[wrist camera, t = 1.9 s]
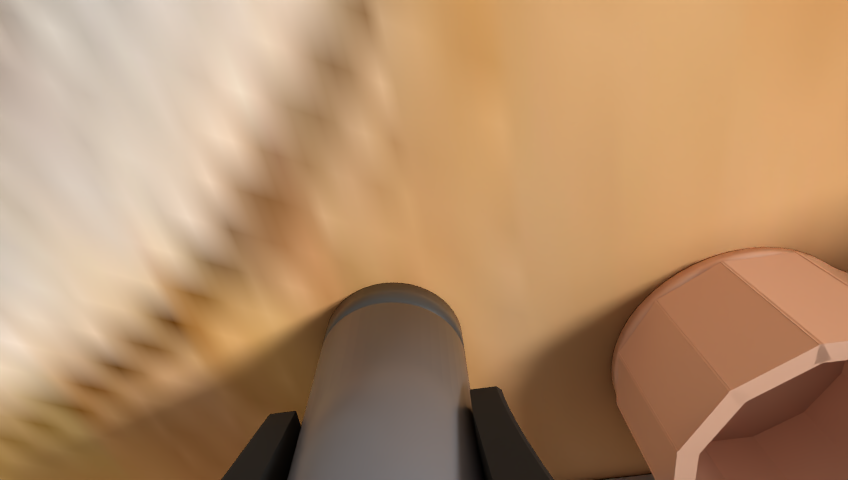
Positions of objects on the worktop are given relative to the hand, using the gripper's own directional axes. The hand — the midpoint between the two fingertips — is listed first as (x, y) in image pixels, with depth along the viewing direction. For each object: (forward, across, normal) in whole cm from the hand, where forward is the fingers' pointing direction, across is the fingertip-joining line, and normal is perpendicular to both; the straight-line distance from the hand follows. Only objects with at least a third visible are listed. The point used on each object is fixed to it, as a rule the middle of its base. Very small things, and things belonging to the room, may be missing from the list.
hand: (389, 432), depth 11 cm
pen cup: (+3, -10, +2) cm, 11 cm away
